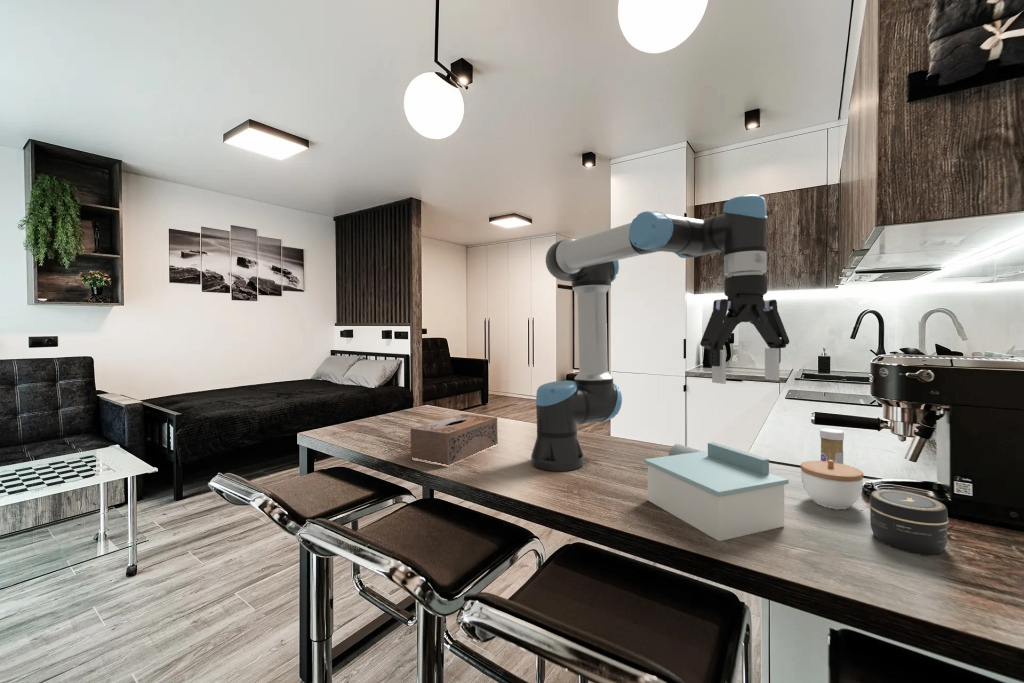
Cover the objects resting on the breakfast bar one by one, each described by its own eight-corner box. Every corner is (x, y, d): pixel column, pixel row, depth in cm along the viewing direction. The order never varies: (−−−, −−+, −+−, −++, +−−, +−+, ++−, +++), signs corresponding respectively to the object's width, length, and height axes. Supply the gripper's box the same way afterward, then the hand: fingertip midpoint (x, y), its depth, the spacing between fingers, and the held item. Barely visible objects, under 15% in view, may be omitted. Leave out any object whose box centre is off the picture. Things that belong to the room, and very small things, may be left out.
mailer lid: (644, 462, 94) (643, 446, 94) (704, 454, 99) (703, 438, 99) (718, 496, 74) (718, 475, 74) (788, 483, 80) (788, 463, 79)
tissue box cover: (463, 442, 149) (463, 414, 148) (497, 447, 141) (497, 417, 141) (411, 461, 127) (410, 428, 126) (448, 468, 119) (447, 433, 119)
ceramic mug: (697, 483, 103) (697, 452, 103) (666, 475, 110) (666, 445, 110) (717, 474, 110) (717, 445, 110) (687, 467, 116) (687, 439, 116)
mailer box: (647, 500, 94) (647, 464, 93) (704, 490, 99) (704, 456, 99) (719, 541, 75) (718, 496, 75) (784, 526, 80) (784, 484, 80)
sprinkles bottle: (815, 483, 102) (815, 428, 102) (830, 481, 103) (829, 427, 103) (834, 490, 98) (833, 432, 97) (849, 488, 99) (848, 431, 98)
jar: (945, 540, 74) (945, 497, 74) (951, 564, 66) (951, 516, 66) (870, 524, 80) (870, 484, 80) (868, 544, 73) (868, 500, 73)
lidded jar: (821, 491, 97) (821, 451, 97) (875, 509, 87) (875, 464, 87) (789, 498, 93) (789, 456, 93) (842, 518, 83) (842, 471, 83)
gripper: (708, 271, 77) (709, 386, 77) (809, 274, 84) (810, 380, 84) (680, 276, 84) (681, 382, 84) (776, 279, 91) (776, 376, 92)
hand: (746, 381), depth 84 cm, fingers open, 13 cm apart
